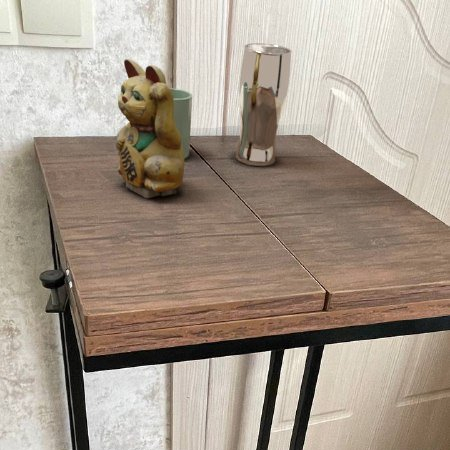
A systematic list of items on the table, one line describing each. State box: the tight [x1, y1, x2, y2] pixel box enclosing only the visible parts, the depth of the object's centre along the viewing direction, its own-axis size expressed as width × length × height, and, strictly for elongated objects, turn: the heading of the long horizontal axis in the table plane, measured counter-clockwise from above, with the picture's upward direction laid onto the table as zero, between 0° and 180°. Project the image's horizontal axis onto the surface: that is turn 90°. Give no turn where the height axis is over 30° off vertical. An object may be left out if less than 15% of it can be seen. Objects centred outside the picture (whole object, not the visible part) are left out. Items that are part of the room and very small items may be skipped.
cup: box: [170, 87, 193, 160], centre depth 91 cm, size 6×6×8 cm
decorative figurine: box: [115, 58, 185, 199], centre depth 78 cm, size 10×8×15 cm
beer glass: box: [234, 42, 293, 167], centre depth 90 cm, size 7×7×15 cm
